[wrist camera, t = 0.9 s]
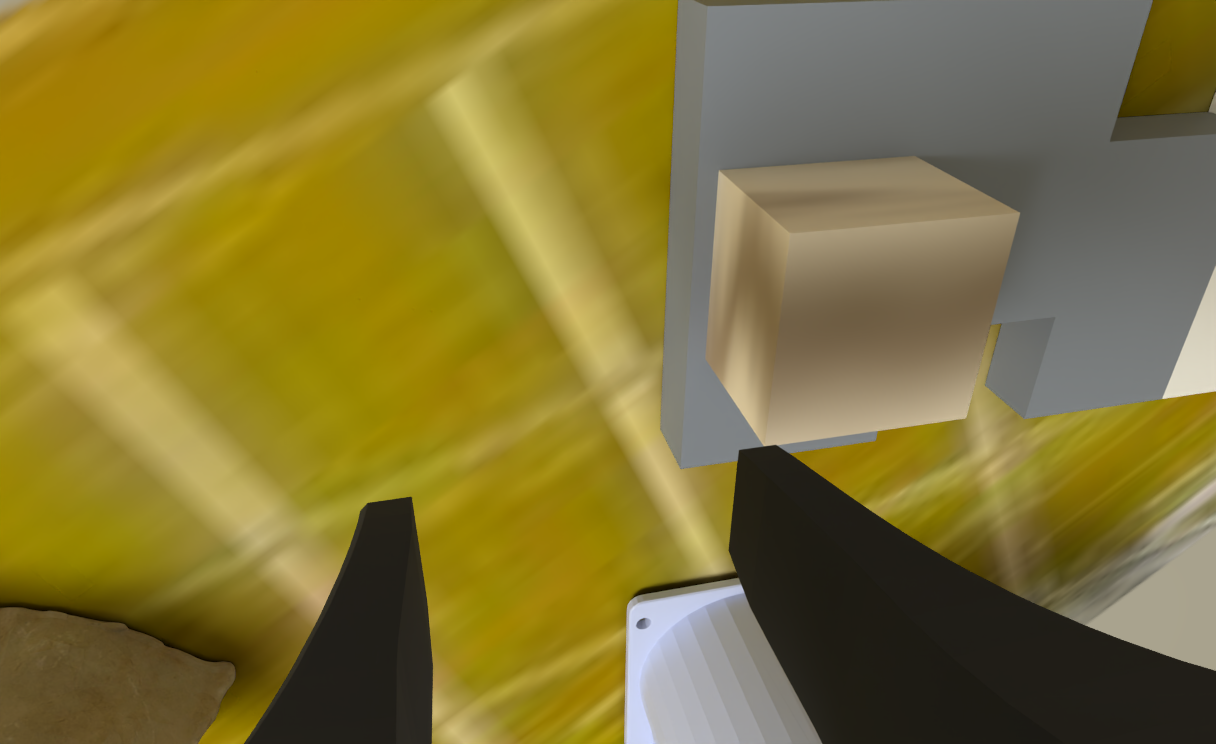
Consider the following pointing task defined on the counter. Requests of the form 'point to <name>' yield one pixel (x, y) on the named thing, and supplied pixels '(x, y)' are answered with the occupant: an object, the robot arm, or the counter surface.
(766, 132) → the plate
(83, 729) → the rock
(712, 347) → the maple block
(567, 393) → the counter surface
